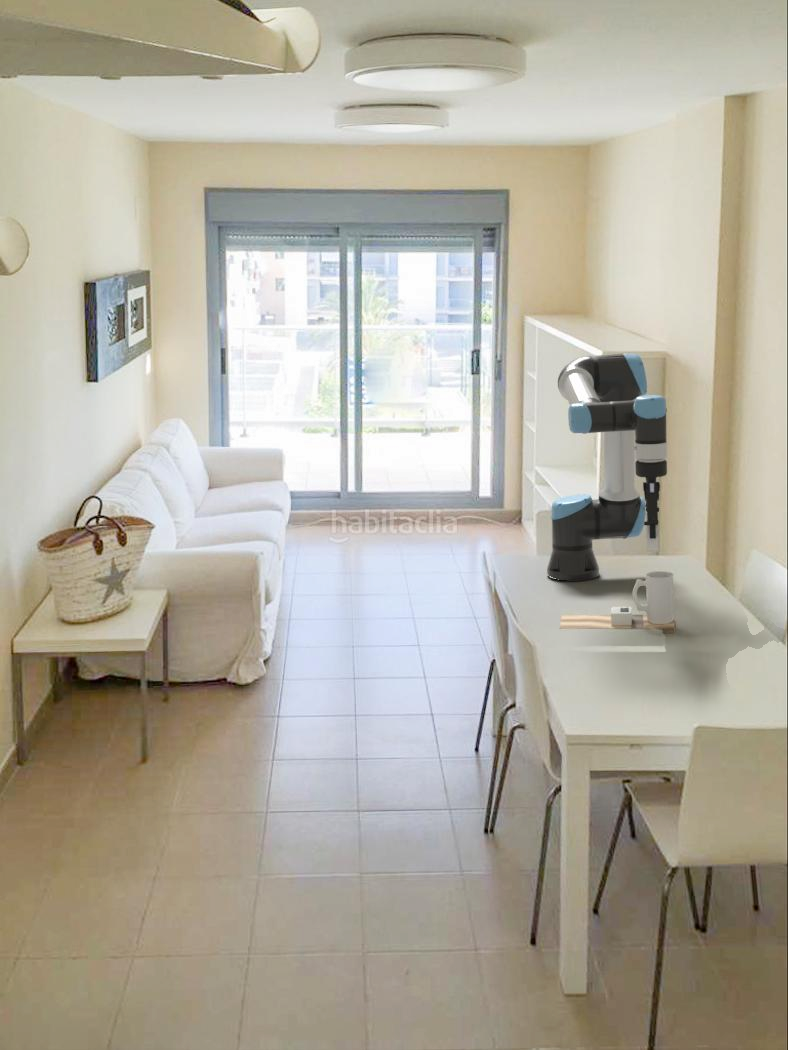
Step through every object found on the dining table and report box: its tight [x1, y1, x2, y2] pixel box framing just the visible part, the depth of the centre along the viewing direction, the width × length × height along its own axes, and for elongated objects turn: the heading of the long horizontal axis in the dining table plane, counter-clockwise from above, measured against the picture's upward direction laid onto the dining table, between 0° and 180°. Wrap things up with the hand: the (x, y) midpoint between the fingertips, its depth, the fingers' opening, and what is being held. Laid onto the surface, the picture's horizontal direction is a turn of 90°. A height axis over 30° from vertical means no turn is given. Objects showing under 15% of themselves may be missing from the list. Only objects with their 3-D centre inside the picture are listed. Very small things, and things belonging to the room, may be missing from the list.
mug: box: [632, 570, 674, 624], centre depth 311 cm, size 10×7×12 cm, turn 84°
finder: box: [610, 606, 633, 625], centre depth 314 cm, size 6×5×3 cm
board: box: [559, 614, 676, 634], centre depth 314 cm, size 12×28×1 cm, turn 80°
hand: (652, 544), depth 309 cm, fingers open, 13 cm apart
